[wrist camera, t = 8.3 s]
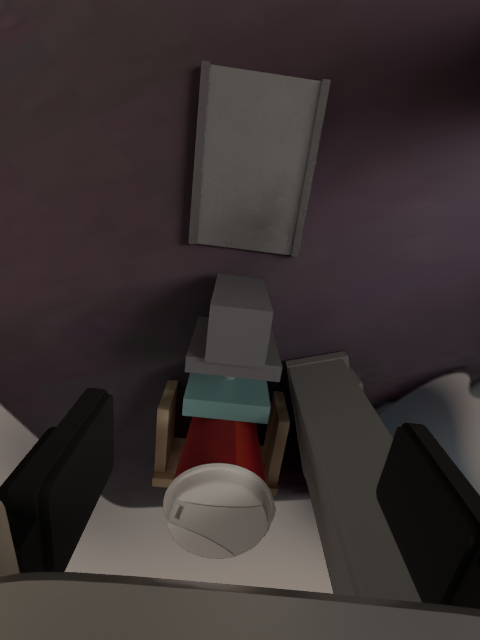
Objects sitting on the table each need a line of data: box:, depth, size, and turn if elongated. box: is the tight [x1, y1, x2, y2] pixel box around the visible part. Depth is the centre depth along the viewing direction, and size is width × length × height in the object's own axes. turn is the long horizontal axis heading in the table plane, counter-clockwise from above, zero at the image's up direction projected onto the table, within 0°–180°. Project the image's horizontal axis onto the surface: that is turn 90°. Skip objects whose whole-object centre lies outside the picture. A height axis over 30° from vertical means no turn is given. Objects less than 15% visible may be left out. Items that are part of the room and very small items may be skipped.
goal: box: [152, 380, 290, 497], centre depth 34 cm, size 12×8×6 cm
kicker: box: [182, 273, 282, 424], centre depth 28 cm, size 7×11×9 cm, turn 173°
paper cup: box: [163, 417, 276, 559], centre depth 29 cm, size 8×8×14 cm
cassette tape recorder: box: [286, 351, 422, 602], centre depth 25 cm, size 14×6×25 cm, turn 11°
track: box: [189, 60, 331, 257], centre depth 28 cm, size 10×13×1 cm
